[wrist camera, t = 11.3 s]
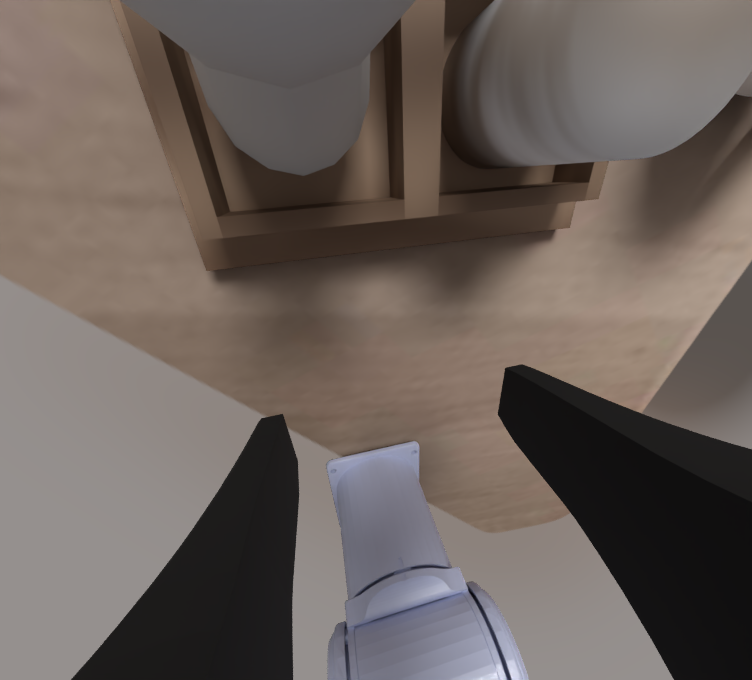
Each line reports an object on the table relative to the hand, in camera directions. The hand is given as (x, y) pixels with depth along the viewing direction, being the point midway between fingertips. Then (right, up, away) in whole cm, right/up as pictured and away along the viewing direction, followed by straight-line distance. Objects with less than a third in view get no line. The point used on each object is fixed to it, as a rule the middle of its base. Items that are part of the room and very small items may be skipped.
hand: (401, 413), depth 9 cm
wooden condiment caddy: (0, +14, +5) cm, 14 cm away
